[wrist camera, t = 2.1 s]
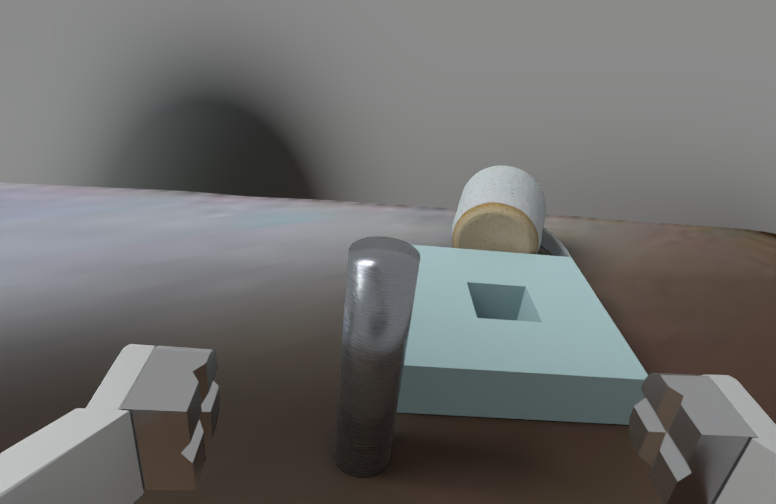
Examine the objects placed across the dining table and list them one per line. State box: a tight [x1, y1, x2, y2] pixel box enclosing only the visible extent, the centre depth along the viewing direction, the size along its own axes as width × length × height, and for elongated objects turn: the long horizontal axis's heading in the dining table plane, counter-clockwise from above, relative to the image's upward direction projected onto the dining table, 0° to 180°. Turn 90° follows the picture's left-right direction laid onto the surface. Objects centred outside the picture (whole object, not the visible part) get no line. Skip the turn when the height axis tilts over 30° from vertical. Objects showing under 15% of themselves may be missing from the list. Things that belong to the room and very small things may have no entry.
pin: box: [333, 237, 420, 477], centre depth 26 cm, size 3×3×12 cm
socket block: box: [397, 245, 648, 425], centre depth 37 cm, size 14×14×4 cm
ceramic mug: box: [452, 166, 572, 258], centre depth 47 cm, size 11×8×8 cm
